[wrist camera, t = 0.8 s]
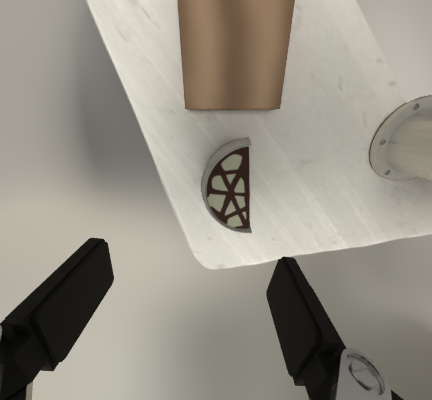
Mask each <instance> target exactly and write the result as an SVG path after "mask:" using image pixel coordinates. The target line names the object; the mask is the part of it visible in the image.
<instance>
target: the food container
mask: <svg viewBox="0 0 432 400" xmlns="http://www.w3.org/2000/svg"><path fill="white" fill-rule="evenodd" d="M249 146H251V144H250V140H249V138H248V137H247V138H242V139H238V140H236V141H233V142H231V143H229V144H227V145H225V146H223V147H222V148H221V149H220V150H218V151H217V152H216V153H215V154H214V155H213V156H212V157H211V159H210V160H209V162H208V163H207V165H206V167H205V169H204V172H203V176H202V181H201V192H202V197H203V200H204V203H205V205H206V208H207V210H208V211H209V213H210V214H211V216H212V217H213V218H214V219H215V220H216V221H217V222H219V223H220V224H221V225H223V226H224V227H226V228H228V229H230V230H233V231H236V232H242V233H252V231H251V228H250V221H249V197H250V190H249Z"/></svg>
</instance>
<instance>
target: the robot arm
mask: <svg viewBox="0 0 432 400" xmlns="http://www.w3.org/2000/svg"><path fill="white" fill-rule="evenodd" d="M370 161H371V165H372V167H373V169H374V171H375V172H376V173H377V174H378V175H380V176H381V177H384V178H386V179H389V180H394V181H404V180H410V179H413V178H416V177H419V178H422V179H426V180H429V181H432V95H429V96H424V97H420V98H417V99H415V100H412V101H410V102H408V103H407V104H405V105H403V106H402V107H400V108H399V109H398V110H396V111H395V112H394V113H393V114H392V115H391V116H390V117H389V118H388V119H387V120H386V121H385V122H384V123H383V125H382V126H381V127H380V129H379V130H378V132H377V134H376V135H375V138H374V140H373V142H372V146H371V150H370ZM113 280H114V276H113V271H112V264H111V259H110V253H109V248H108V243H107V242H105V240H104V239H99V238H90V239H88V240H87V241H86V242H85V243H84V244H83V245H82V246H81V247H80V248H79V249H78V250H77V251H76V252H75V253H74V254H72V255H71V256H70V257H69V258H68V259H67V260H66V261H65V262H64V263H63V264H62V265H61V266H60V267H59V268H58V269H57V270H55V271H54V272H53V273H52V274H51V275H50V276H49V277H48V278H47V279H46V280H45V281H44V282H43V283H42V284H41V285H40V286H39V287H38V288H36V289H35V290H34V291H33V292H32V293H31V294H30V295H29V296H28V297H27V298H26V299H25V300H24V301H23V302H22V303H21V304H19V305H18V306H17V307H16V308H15V309H14V310H13V311H12V312H11V313H10V314H9V315H8V316H7V317H6V318H5V320H4V321H2V322H1V323H0V400H32V386H33V380H34V378H35V377H36V375H37V374H38V373H39V371H40V370H42V371H54V369H55V368H56V366H57V365H58V363H59V362H62V361H63V360H64V359H65V358H66V356H67V355H68V353H69V352H70V350H71V349H72V347H73V345H74V344H75V342H76V341H77V339H78V338H79V336H80V334H81V333H82V331H83V330H84V328H85V326H86V325H87V323H88V322H89V320H90V318H91V317H92V315H93V314H94V312H95V310H96V309H97V307H98V306H99V304H100V302H101V301H102V299H103V298H104V296H105V295H106V293H107V292H108V290H109V288H110V287H111V285H112V283H113ZM267 300H268V303H269V307H270V310H271V314H272V317H273V321H274V324H275V328H276V331H277V335H278V338H279V342H280V345H281V349H282V352H283V356H284V360H285V363H286V367H287V370H288V373H289V375H290V376H291V377H293V380H294V383H295V385H296V386H305V387H306V390H307V393H308V396H309V400H403V399H402V398H400V397H399V396H398V395H397V394H396V393H394V392H393V391H392V390H391V389H390V386H389V383H388V381H387V379H386V377H385V375H384V374H383V372H382V371H381V369H380V368H379V367H378V366H377V365H376V364H375V363H374V361H373V360H371V359H370V358H369V357H368V356H367V355H365V354H364V353H362V352H360V351H359V350H356V349H352V348H346V347H345V345H344V343H343V342H342V340H341V338H340V336H339V335H338V333H337V331H336V329H335V327H334V326H333V324H332V322H331V321H330V319H329V317H328V315H327V313H326V312H325V310H324V308H323V306H322V304H321V303H320V301H319V299H318V297H317V296H316V294H315V292H314V290H313V289H312V287H311V286H310V285H309V283H308V282H307V280H306V278H305V276H304V274H303V273H302V271H301V269H300V267H299V266H298V264H297V262H296V260H295V259H294V258H292V257H282V258H281V259H279V260H278V262H277V265H276V268H275V270H274V273H273V276H272V278H271V281H270V284H269V286H268V289H267Z"/></svg>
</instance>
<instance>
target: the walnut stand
mask: <svg viewBox="0 0 432 400" xmlns="http://www.w3.org/2000/svg"><path fill="white" fill-rule="evenodd" d="M294 2H295V0H178V13H179V27H180V42H181V56H182V70H183V84H184V98H185V109H187V110H273V109H280V104H281V96H282V89H283V82H284V75H285V67H286V60H287V53H288V46H289V38H290V31H291V24H292V17H293V9H294Z"/></svg>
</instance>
